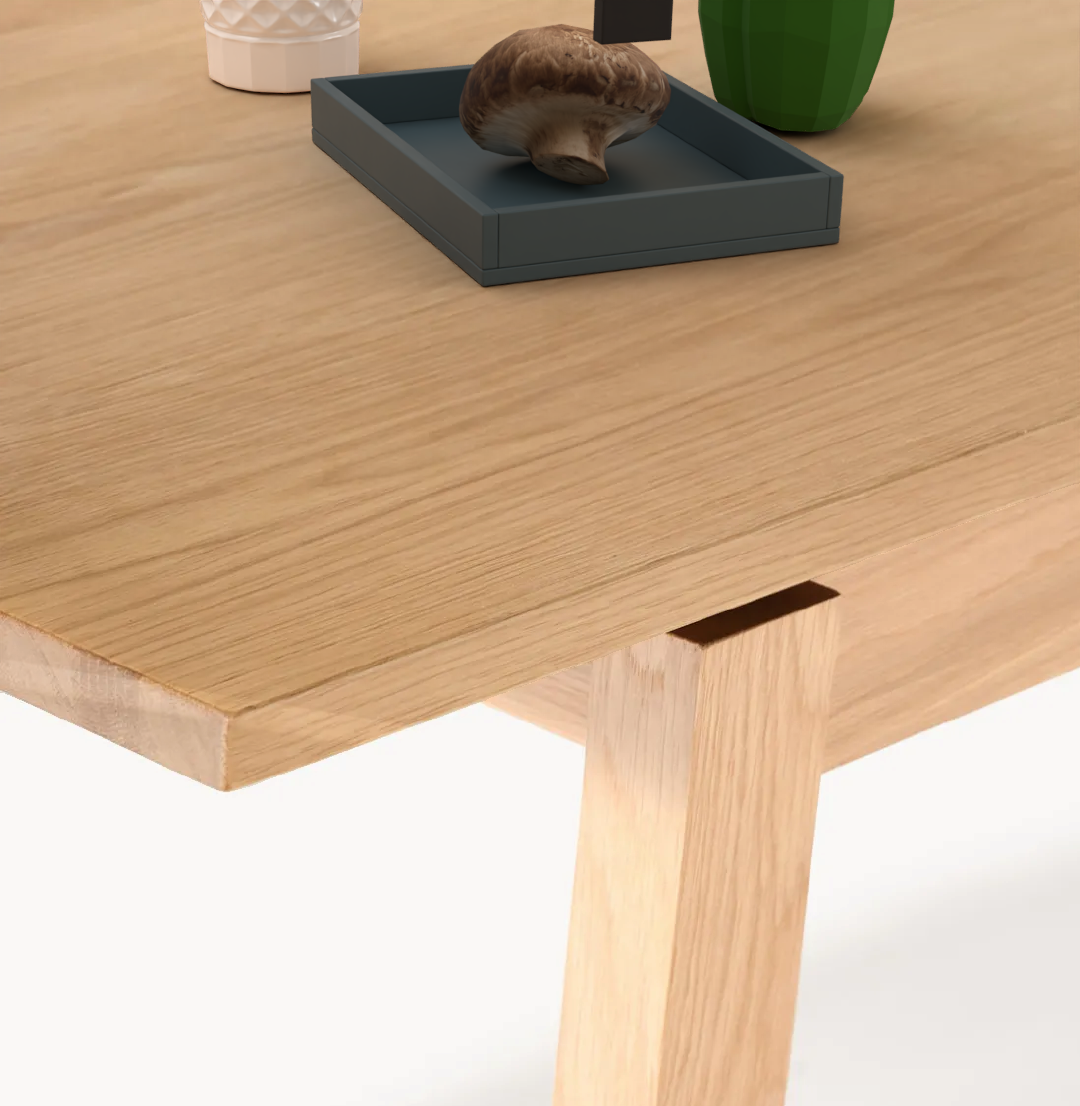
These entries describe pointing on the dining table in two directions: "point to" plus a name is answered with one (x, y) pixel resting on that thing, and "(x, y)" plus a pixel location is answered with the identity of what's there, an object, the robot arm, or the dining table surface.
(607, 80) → the mushroom
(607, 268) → the tray
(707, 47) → the bell pepper
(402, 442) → the dining table surface
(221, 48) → the white cup
